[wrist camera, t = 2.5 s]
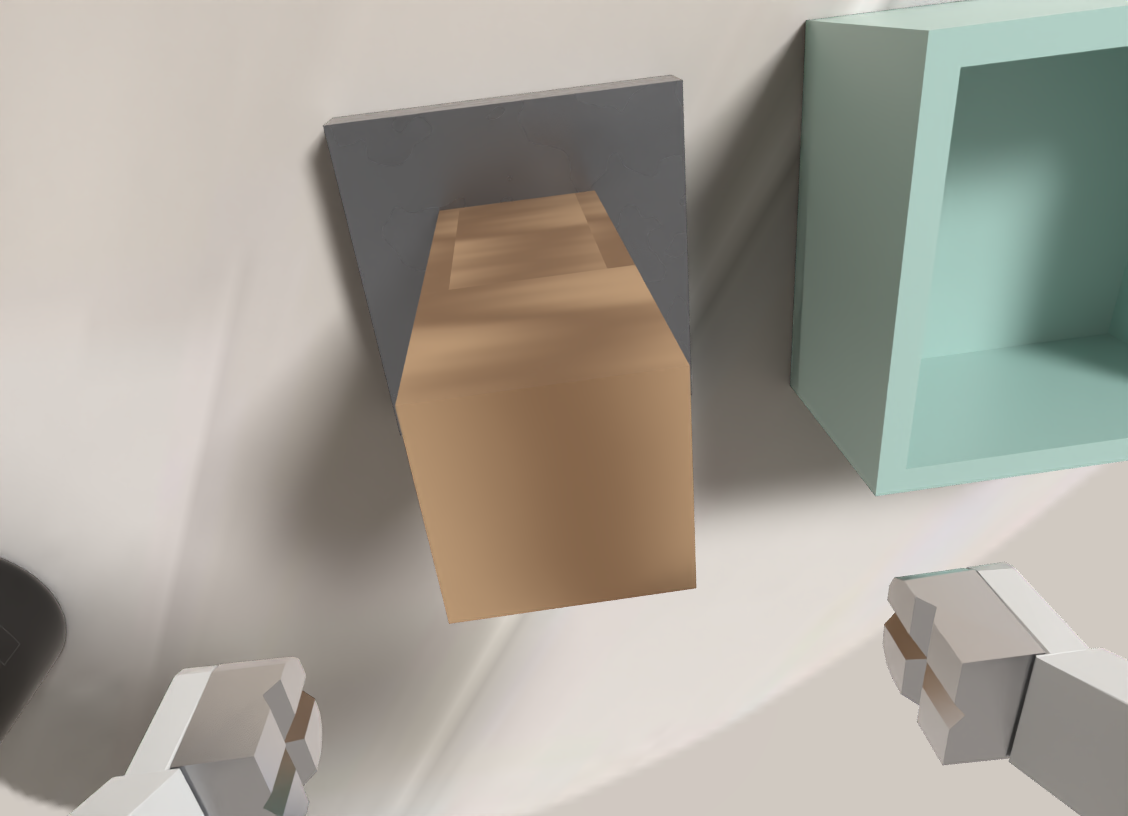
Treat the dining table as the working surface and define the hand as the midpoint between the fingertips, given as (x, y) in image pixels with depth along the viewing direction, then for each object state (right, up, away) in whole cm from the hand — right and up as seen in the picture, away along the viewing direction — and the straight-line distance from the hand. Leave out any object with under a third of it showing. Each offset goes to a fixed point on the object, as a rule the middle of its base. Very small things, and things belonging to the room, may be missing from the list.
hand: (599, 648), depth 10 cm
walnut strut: (-2, +7, +13) cm, 15 cm away
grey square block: (-2, +8, +14) cm, 16 cm away
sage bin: (+13, +10, +15) cm, 22 cm away
